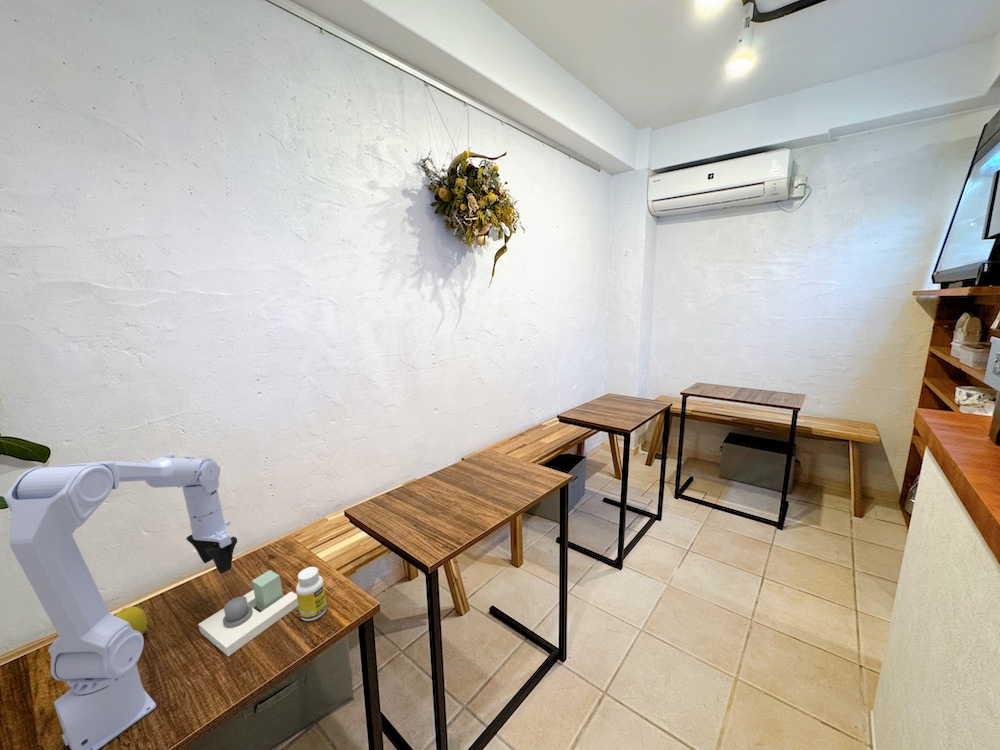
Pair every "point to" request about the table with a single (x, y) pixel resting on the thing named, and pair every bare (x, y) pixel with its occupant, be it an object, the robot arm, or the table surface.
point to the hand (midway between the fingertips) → (217, 565)
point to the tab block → (267, 589)
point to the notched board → (243, 621)
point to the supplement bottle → (311, 594)
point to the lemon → (134, 618)
